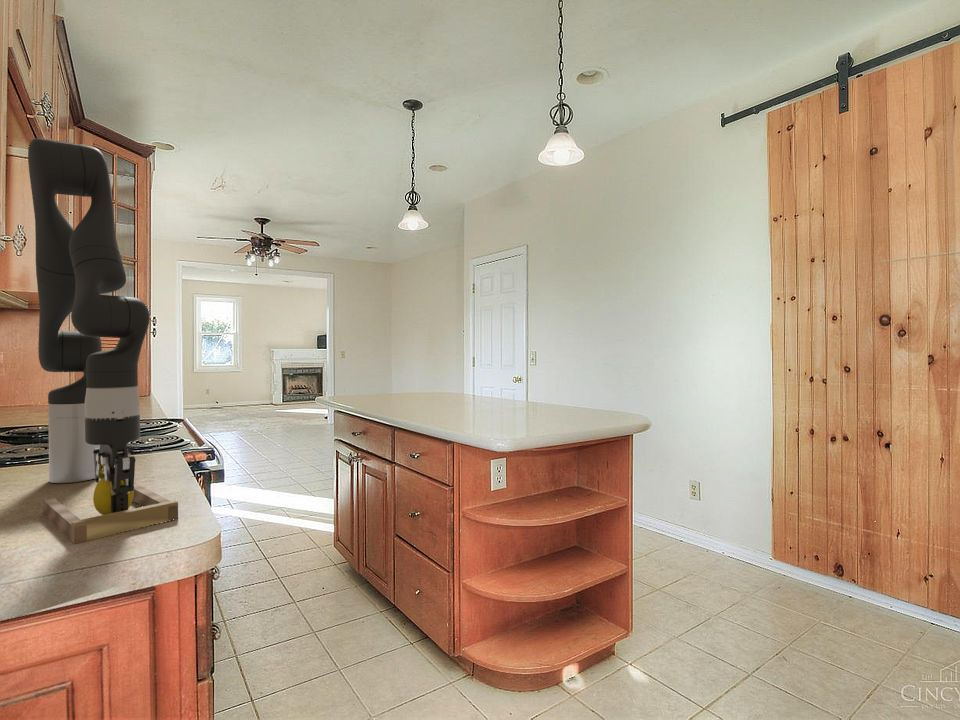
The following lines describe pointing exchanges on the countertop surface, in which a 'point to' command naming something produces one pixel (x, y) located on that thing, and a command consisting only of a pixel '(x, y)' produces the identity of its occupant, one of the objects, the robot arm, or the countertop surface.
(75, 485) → the countertop surface
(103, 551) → the countertop surface
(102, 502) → the lemon
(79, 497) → the countertop surface
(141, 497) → the brown wooden u-shaped frame
